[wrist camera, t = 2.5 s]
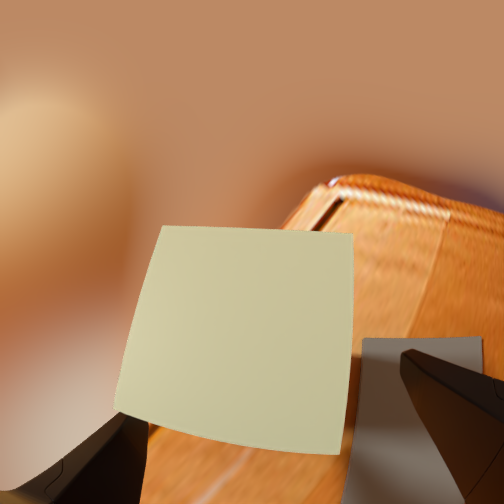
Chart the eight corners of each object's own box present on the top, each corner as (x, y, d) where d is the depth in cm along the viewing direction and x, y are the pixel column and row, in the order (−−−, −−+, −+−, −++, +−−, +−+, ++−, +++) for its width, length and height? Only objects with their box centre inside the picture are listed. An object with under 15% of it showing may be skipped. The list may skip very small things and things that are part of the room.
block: (310, 419, 15) (339, 454, 4) (237, 410, 16) (112, 409, 5) (319, 349, 17) (353, 233, 6) (248, 342, 18) (162, 225, 7)
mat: (454, 521, 8) (458, 524, 8) (330, 539, 10) (331, 543, 10) (476, 338, 15) (481, 336, 15) (362, 340, 17) (364, 337, 16)
